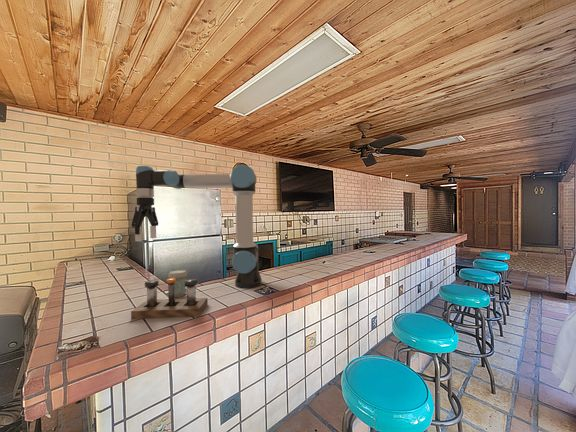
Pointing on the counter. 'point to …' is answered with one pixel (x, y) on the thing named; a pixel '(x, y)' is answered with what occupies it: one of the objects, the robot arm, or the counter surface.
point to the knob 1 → (151, 292)
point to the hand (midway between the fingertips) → (146, 239)
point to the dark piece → (171, 290)
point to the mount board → (169, 309)
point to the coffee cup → (179, 281)
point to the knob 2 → (191, 291)
